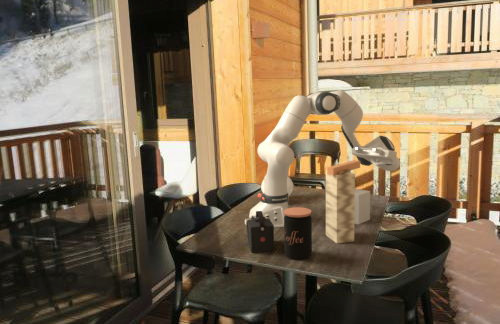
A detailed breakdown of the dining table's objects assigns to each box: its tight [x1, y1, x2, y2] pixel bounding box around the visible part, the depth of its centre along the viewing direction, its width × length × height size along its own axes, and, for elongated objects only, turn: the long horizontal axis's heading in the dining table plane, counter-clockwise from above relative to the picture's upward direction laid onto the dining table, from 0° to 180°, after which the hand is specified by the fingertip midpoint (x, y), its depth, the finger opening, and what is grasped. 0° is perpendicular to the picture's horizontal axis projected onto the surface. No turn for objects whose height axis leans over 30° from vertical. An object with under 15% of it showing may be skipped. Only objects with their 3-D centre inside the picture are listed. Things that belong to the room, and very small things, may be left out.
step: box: [354, 188, 371, 225], centre depth 219 cm, size 10×10×14 cm
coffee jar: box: [283, 206, 313, 261], centre depth 177 cm, size 11×11×18 cm
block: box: [326, 159, 361, 175], centre depth 193 cm, size 20×3×3 cm, turn 135°
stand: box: [325, 169, 356, 244], centre depth 193 cm, size 10×11×30 cm
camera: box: [245, 211, 275, 253], centre depth 188 cm, size 11×14×15 cm
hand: (365, 149), depth 209 cm, fingers open, 8 cm apart
